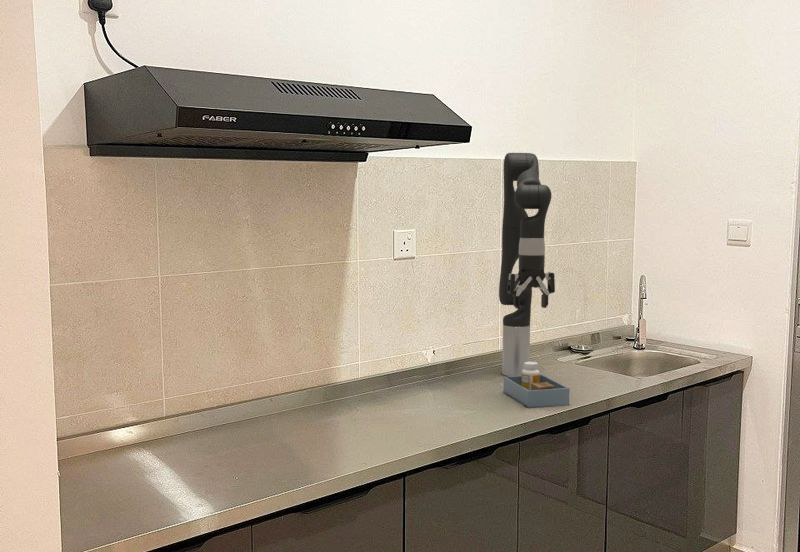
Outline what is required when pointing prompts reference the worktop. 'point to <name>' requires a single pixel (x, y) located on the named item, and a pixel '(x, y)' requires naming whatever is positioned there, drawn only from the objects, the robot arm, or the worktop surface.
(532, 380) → the supplement bottle
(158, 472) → the worktop surface
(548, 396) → the tote
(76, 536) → the worktop surface
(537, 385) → the cube
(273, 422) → the worktop surface
